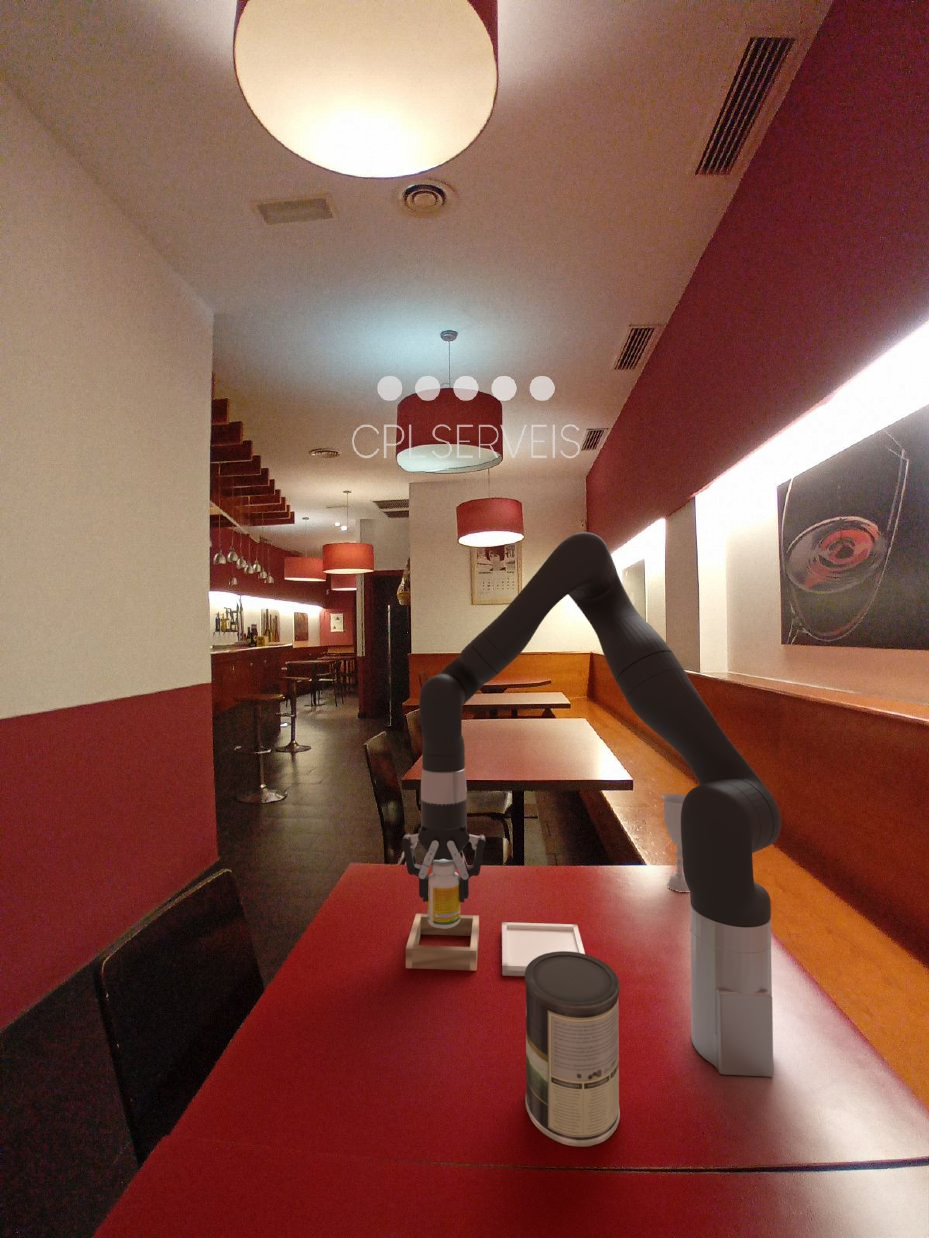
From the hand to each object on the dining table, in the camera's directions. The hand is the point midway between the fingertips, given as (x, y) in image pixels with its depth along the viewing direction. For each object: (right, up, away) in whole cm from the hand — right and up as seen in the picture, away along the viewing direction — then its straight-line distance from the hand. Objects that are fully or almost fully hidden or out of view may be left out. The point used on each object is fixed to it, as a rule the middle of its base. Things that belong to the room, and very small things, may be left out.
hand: (444, 899), depth 93 cm
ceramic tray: (+16, -8, -1) cm, 18 cm away
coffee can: (+15, -8, -31) cm, 35 cm away
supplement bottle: (0, -4, 0) cm, 4 cm away
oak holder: (0, -8, 0) cm, 8 cm away
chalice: (+47, -9, +23) cm, 54 cm away
